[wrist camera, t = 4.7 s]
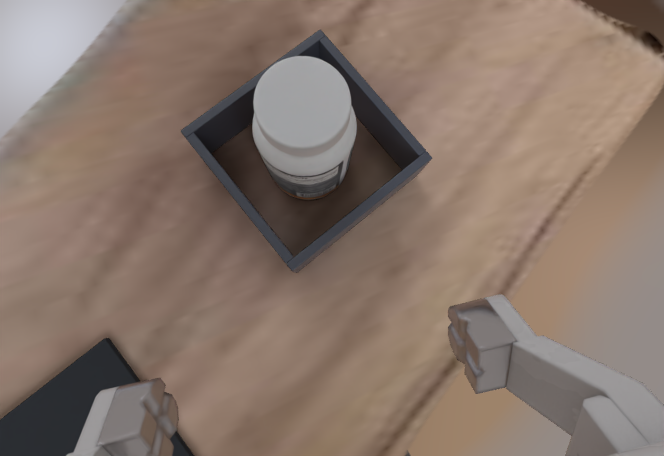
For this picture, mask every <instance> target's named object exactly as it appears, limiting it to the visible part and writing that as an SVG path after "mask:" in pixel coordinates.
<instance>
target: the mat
mask: <svg viewBox="0 0 664 456" xmlns="http://www.w3.org/2000/svg"><path fill="white" fill-rule="evenodd" d="M136 382H140V380H139V379H138V378H137V376H136V375H135V373H134V372H133V371H132V369H131V368H130V367H129V365H128V364H127V362H126V361H125V360H124V358H123V357H122V356H121V354H120V353H119V351H118V350H117V349H116V347H115V346H114V345H113V343H112V342H111V340H110V339H109V338H105V339H103V340H102V341H101V342H99V343H98V344H97V345H96V346H94V347H93V348H92V349H90V350H89V351H88V352H87V353H85V354H84V355H83V356H81V357H80V358H79V359H78V360H76V361H75V362H74V363H73V364H71V365H70V366H69V367H67V368H66V369H65V370H64V371H62V372H61V373H60V374H58V375H57V376H56V377H55V378H53V379H52V380H51V381H49V382H48V383H47V384H46V385H44V386H43V387H42V388H40V389H39V390H38V391H37V392H35V393H34V394H33V395H31V396H30V397H29V398H28V399H26V400H25V401H24V402H22V403H21V404H20V405H19V406H17V407H16V408H15V409H13V410H12V411H11V412H10V413H8V414H7V415H6V416H4V417H3V418H2V419H1V420H0V456H66V455H67V454H69V453H73V452H74V450H75V447H76V445H77V442H78V440H79V437H80V435H81V432H82V430H83V427H84V425H85V422H86V420H87V417H88V415H89V412H90V410H91V407H92V405H93V402H94V400H95V397H96V396H97V394H98V393H99V392H100V391H101V390H105V389H110V388H114V387H119V386H122V385H127V384H132V383H136ZM170 441H171V443H172V444H173V446H174V449H173V454H172V456H194V455H193V453H192V452H191V451H190V449H189V448H188V447H187V445H186V444H185V442H184V441H183V440H182V438H181V437H180V436H179V434H178V433H177V431H176V432H175V433H174V434H173V436H172V437H171V438H170Z"/></svg>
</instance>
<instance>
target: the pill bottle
mask: <svg viewBox="0 0 664 456" xmlns="http://www.w3.org/2000/svg"><path fill="white" fill-rule="evenodd" d="M253 106H254V116H253V124H252V130H253V138H254V142H255V145H256V147H257V150H258V151H259V153H260V155H261V157H262V159H263V161H264V163H265V165H266V167H267V169H268V171H269V173H270V175H271V177H272V178H273V180H274V181H275V183H276V184H277V185H278V187H279V188H280V189H281V190H283V191H284V192H285V193H287V194H288V195H291V196H293V197H295V198H298V199H304V200H313V199H318V198H322V197H324V196H327V195H328V194H330V193H331V192H333V191H334V190H335V189H336V188H337V187H338V186H339V185H340V184H341V183H342V181H343V179H344V177H345V175H346V173H347V170H348V167H349V162H350V158H351V154H352V150H353V146H354V142H355V138H356V132H357V123H356V116H355V113H354V110H353V107H352V105H351V95H350V91H349V87H348V85H347V83H346V81H345V79H344V78H343V76H342V75H341V74H340V73H339V72H338V71H337V70H336V69H335V68H334V67H333V66H332V65H330V64H329V63H327V62H325V61H323V60H321V59H318V58H314V57H309V56H295V57H290V58H286V59H284V60H281V61H279V62H277V63H276V64H274V65H273V66H271V67H270V68H269V69H268V70H267V71H266V72H265V73H264V74H263V75H262V77H261V78H260V80H259V82H258V84H257V86H256V89H255V93H254V100H253Z"/></svg>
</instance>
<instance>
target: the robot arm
mask: <svg viewBox="0 0 664 456" xmlns="http://www.w3.org/2000/svg"><path fill="white" fill-rule="evenodd" d="M448 317H449V319H450V321H451V324H450V325H449V327H448V337H449V341H450V345H451V348H452V350H453V353H454V355H455V356H456V358H457V360H458V361H460V362H462V363H463V364H465V375H466V377H467V379H468V380H469V382H470V384H471V386H472V388H473V390H474V391H475V393H476V394H478V393H483V392H487V391H491V390H496V389H500V388H505V387H506V389H507V390H509V391H510V392H511V393H513V394H514V395H515V396H517V397H518V398H520V399H521V400H522V401H524V402H525V403H527V404H528V405H529V406H531V407H532V408H533V409H535V410H536V411H538V412H539V413H540V414H542V415H543V416H545V417H546V418H548V419H549V420H550V421H551V422H553V423H554V424H556V425H557V426H558V427H560V428H561V429H563V430H564V431H566V432H567V433H568V434H569V435H571V439H570V443H569V446H568V448H567V451H566V455H565V456H664V404H663V403H662V402H661V401H660V400H659V399H658V398H657V397H656V396H655V395H654V394H653V393H652V392H651V391H650V390H649V389H648V388H647V387H646V386H645V385H644V384H643V383H642V382H640V381H638V380H636V379H633V378H632V377H629V376H627V375H625V374H623V373H621V372H619V371H617V370H615V369H613V368H611V367H608V366H606V365H604V364H602V363H600V362H598V361H596V360H594V359H592V358H590V357H587V356H585V355H583V354H581V353H579V352H577V351H575V350H573V349H571V348H569V347H566V346H564V345H562V344H560V343H558V342H556V341H554V340H552V339H550V338H548V337H545V336H537V335H536V334H535V333H534V331H533V330H532V329H531V328H530V326H529V325H528V324H527V323H526V321H525V320H524V319H523V318H522V317H521V315H520V314H519V313H518V312H517V311H516V309H515V308H514V307H513V306H512V304H511V303H510V302H509V301H508V299H507V298H506V297H505V296H504V295H502V294H499V295H495V296H490V297H486V298H483V299H482V298H481V299H477V300H474V301H470V302H466V303H462V304H458V305H454V306H450V307H449V309H448ZM165 386H166V385H165V383H164V382H163V381H162V379H161V378H155V379H150V380H146V381H141V382H136V383H132V384H127V385H122V386H119V387H114V388H110V389H105V390H101V391H100V392H99V393H98V394H97V396H96V397H95V400H94V402H93V405H92V407H91V410H90V412H89V415H88V417H87V420H86V422H85V425H84V427H83V430H82V432H81V435H80V437H79V440H78V442H77V445H76V447H75V450H74V452H73V453H69V454H67V455H66V456H172V454H173V449H174V446H173V444H172V443H171V441H170V438H171V437H172V436H173V434H174V433H175V432H176V430H177V426H178V420H179V417H178V406H177V403H176V400H175V399H174V397H173V395H171V394H169V393H166V392H164V391H165Z"/></svg>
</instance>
